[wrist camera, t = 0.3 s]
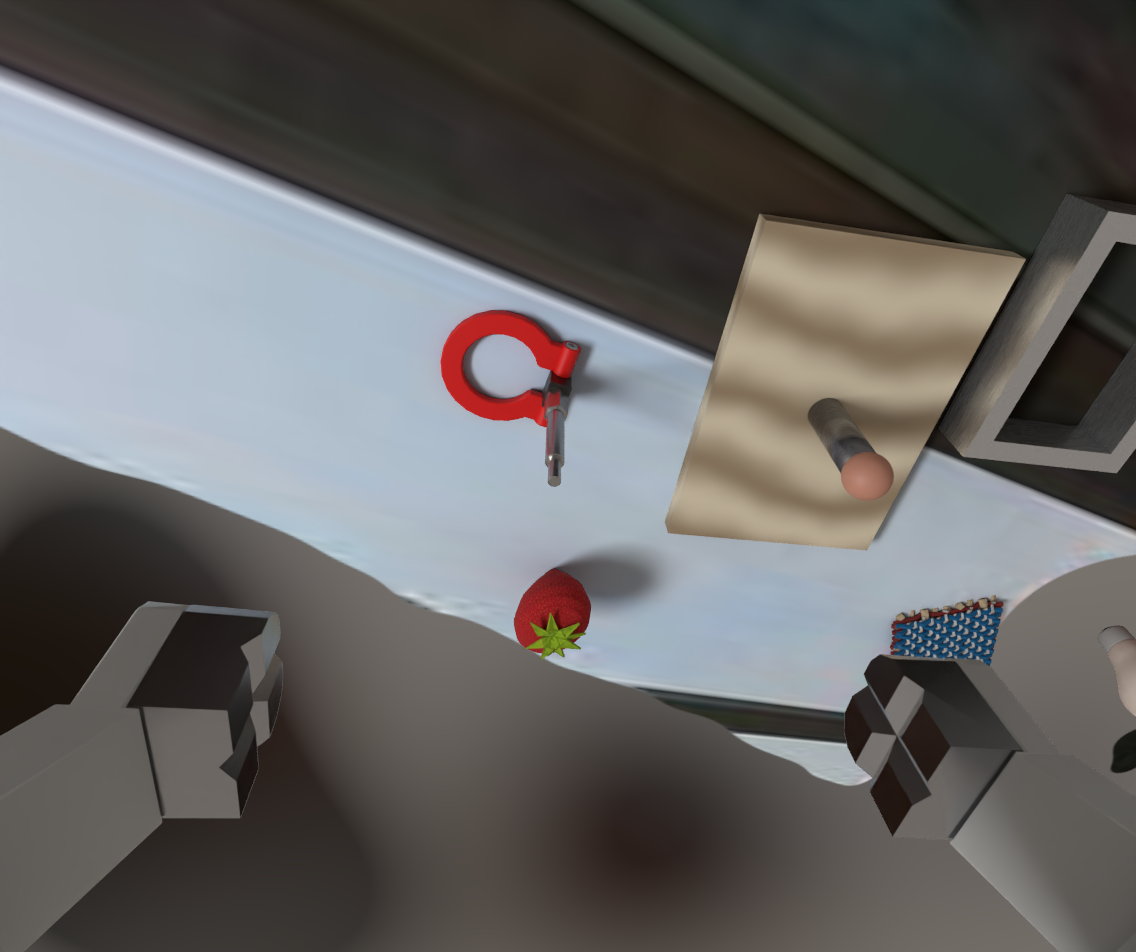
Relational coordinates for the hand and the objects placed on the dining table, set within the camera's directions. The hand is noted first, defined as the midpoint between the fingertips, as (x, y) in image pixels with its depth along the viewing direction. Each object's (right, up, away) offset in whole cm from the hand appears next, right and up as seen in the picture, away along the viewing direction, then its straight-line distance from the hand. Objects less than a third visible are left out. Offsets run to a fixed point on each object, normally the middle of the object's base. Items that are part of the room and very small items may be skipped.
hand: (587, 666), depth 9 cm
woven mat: (+38, -13, +62) cm, 74 cm away
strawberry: (-2, -6, +53) cm, 53 cm away
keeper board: (+19, +8, +44) cm, 48 cm away
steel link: (+37, +13, +41) cm, 57 cm away
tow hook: (-5, +11, +41) cm, 43 cm away
